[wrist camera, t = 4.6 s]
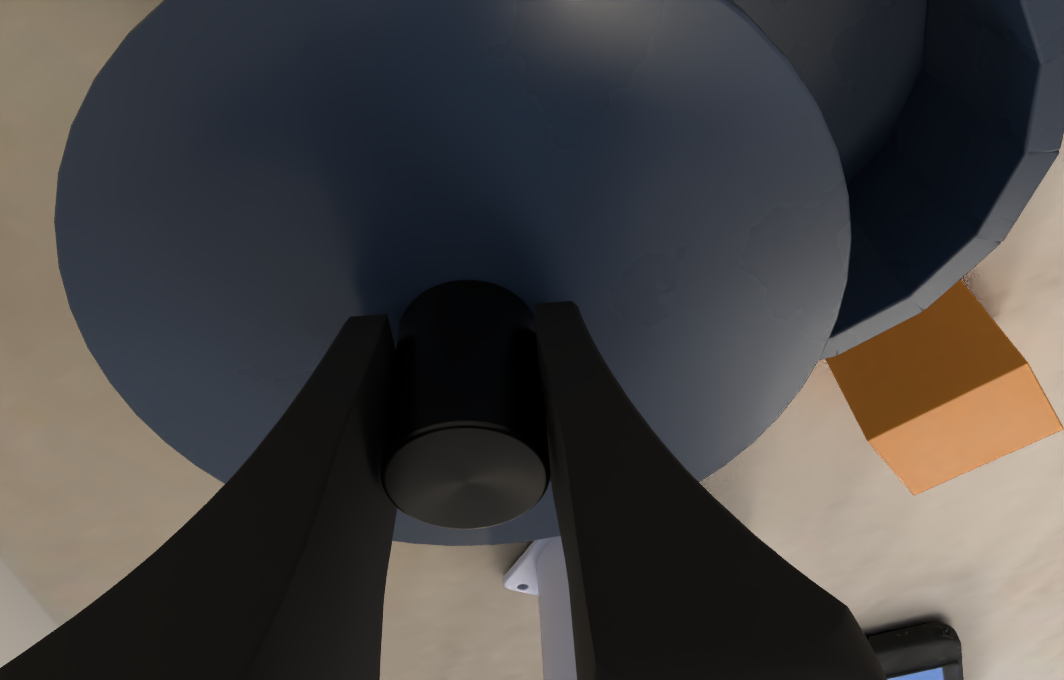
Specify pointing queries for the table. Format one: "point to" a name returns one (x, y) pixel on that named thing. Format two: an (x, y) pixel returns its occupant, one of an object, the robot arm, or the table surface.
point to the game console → (920, 653)
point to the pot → (925, 133)
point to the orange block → (943, 392)
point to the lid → (453, 228)
